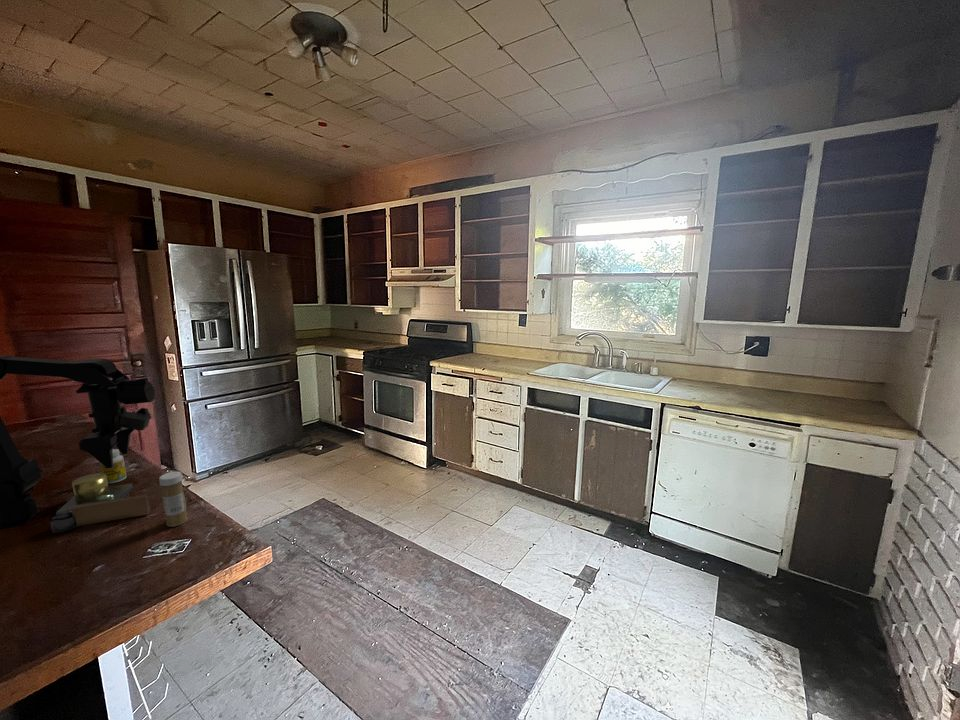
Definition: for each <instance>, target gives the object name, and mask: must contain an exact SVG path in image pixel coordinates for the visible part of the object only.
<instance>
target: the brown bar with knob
mask: <svg viewBox="0 0 960 720" xmlns="http://www.w3.org/2000/svg"><path fill="white" fill-rule="evenodd" d="M150 513H151V507H150V501H149V494H141V495H134V496H128V497H124V498H120V499H114V500H107V501H101V502H94V503H87V504H81V505H75V506H74V507H73V508H72V510H65V511H62V512H59V513H57V514H56V513H55V515H54V516H53V517H52V518H51V519H50V521H49V523H50V527H51V532H52V533H53V534H60V533H64V532H69V531H71V530H73V529H76V528H77V527H80V526H87V525H92V524H93V525H94V524H98V523H99V524H100V523H104V522H110V521H118V520H123V519H127V518H128V519H129V518H135V517H141V516H146V515H150Z"/></svg>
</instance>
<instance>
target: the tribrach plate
mask: <svg viewBox="0 0 960 720" xmlns="http://www.w3.org/2000/svg"><path fill="white" fill-rule="evenodd" d="M71 485H72V490H73V491H72V492H73V497H71V498H70V500H68V501H67V502H66V503H65V504H64V505H62V506H61V507H60V508H59V509H58V510H57V511H56V512H55V515H56V514H57V513H59V512H62V511H65V510H72V508H73V507H74V506H75V505H81V504H87V503H94V502H101V501H107V500H114V499H120V498H126V496H127V495H128V494H129V493H130V491H132V489H133V483H132V482H131V483H126V484H125V483H124V484H117V485H111V486H109V484H108V482H107V476H106V474H104V473H102V472H100V473H98V472H97V473H93V474H87V475H84V476H79V478H76V479H75V480H73V481H72V482H71Z"/></svg>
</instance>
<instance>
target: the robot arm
mask: <svg viewBox="0 0 960 720" xmlns="http://www.w3.org/2000/svg"><path fill="white" fill-rule="evenodd" d="M7 375H22V376H23V375H24V376H25V375H26V376H40V377H53V378H64V379H68V380H71V381H74V382H77V383H81V386H80V387H79V388H78V389H77V390H76V391H75V393H76V394H85V393H87V397H88V401H89V405H90V410H91V412H90V413H88V418H89V419H91V418H92V420H93V424H94V427H93V428H91V434H88V435H86V436H85V437H84V438H82V439H81V440H80V441H79V442H78V448H79V451H81V452H82V451H84V453H85V452H86V453H88V454H90V455H91V456H92V457H93V458H95V460H97V461H98V462H99V463H102V464H103V465H104V466H105V467H106V468H112V467H113V453H112V449H114V447H117V448H116V449H118V450H119V453H121V454H122V456H124V455H127V454H128V453H129V447H130V439H131V437H132V436H131V435H132V433H133V432H134V431H144V430H145V429H146V428H147V427H148V426H149V423H150V420H151V419H152V416H151V413H150V412H149V409H148V408H145V407H141V408H139V409H138V410H137V411H135V410H134V411H127V407H125V405H135V404H145V403H146V404H147V403H152V402H154V400H155V397H156V390H155V387H154V386H153V384H152V383H151V382H150V381H149V378H148V377H147V376H146V377H141V378H134V379H133V378H132V379H130V377H128V376H127V375H126V374H125V373H123V371H121V370H119V368H117V366H116V364H115V363H114V362H113V361H112V360H111V359H109V358H92V359H91V358H88V359H80V360H62V359H49V358H48V359H47V358H36V357H21V356H12V355H9V354H8V355H7V354H6V355H0V381H1V380H3V379H4V378H6V376H7ZM121 404H123V405H122V406H121ZM42 472H43V470H42V469H41V467H39V464H38V461H37V459H36V458H32V459H30V460H28V459H26V458H24V457H23V456H22V455H21V454H20V452H19V450H18V449H17V446H16V444H15V442H14V440H13V439H12V437H11V435H10V432H9V430H8V429H7V426H6V425H5V423H4V420H3V419H2V417H1V415H0V529H2V528H3V529H4V528H8V527H15V526H20V525H24V524H26V523H27V522H29V521H30V520H31V519H33V518H34V517H35V516H36V515H38V513H40V509H37V503H36V500H35V499H34V498H33V497H32V493H30V492H31V491H33V490H34V489H35V486H36V484H38V483H39V482H40V480H41V479H42V474H41V473H42Z"/></svg>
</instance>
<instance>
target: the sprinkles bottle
mask: <svg viewBox="0 0 960 720" xmlns="http://www.w3.org/2000/svg"><path fill="white" fill-rule="evenodd" d="M158 481H159V486H160V488H161V495H162V502H163V508H164V514H165V519H166V526H167V527H171V528H172V527H173V528H174V527H179V526H181V525H183V524H185V523H186V522H187V521H188V519H189V517H188V515H187V514H188V513H187V504H186V498H185V493H184V488H183V487H184V486H183V482H182V481H183V475H182V472H181V471H169V472H166V473H164V474H162V475H160V476H159V478H158Z"/></svg>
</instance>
